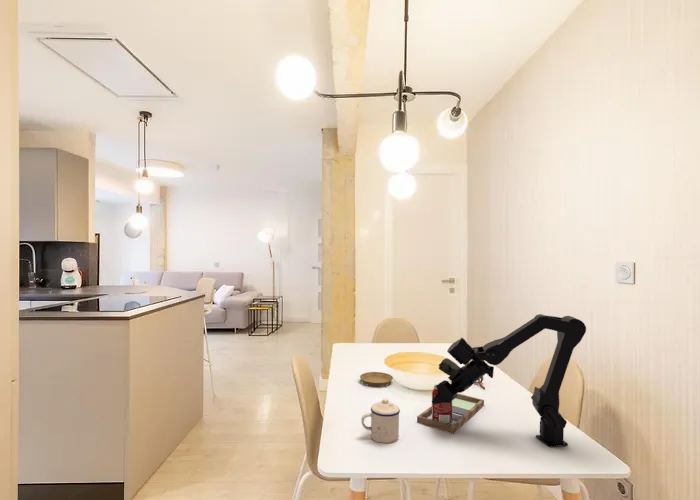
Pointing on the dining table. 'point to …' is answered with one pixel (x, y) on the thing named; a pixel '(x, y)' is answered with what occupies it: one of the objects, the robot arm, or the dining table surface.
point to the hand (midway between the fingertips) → (438, 398)
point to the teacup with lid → (383, 421)
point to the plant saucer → (376, 378)
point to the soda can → (441, 410)
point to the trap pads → (458, 411)
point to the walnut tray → (452, 429)
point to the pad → (462, 404)
